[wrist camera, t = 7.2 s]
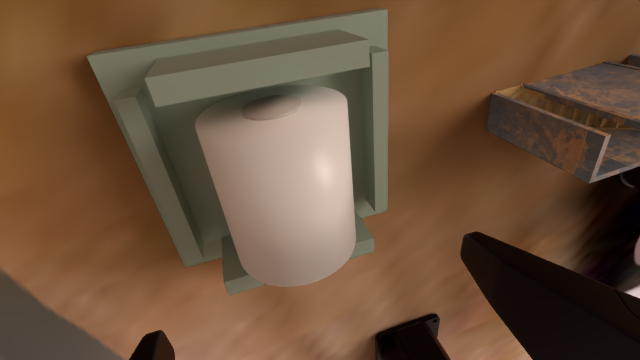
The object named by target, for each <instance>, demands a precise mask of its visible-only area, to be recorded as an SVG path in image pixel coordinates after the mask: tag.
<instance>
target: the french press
mask: <svg viewBox="0 0 640 360" xmlns="http://www.w3.org/2000/svg"><path fill="white" fill-rule="evenodd" d="M615 176H616V178H617V180H618V181H619V182H620V183H622V184H623V185H625V186H629V187H636V188H638V189H640V166H639V167H636V168H633V169H630V170H627V171H624V172H621V173H618V174H615Z"/></svg>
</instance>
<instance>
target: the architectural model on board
mask: <svg viewBox="0 0 640 360" xmlns="http://www.w3.org/2000/svg"><path fill="white" fill-rule="evenodd" d="M486 130H487V131H489V132H491V133H493V134H495V135H496V136H498V137H500V138H502V139H504V140H506V141H508V142H510V143H512V144H514V145H516V146H518V147H520V148H521V149H523V150H525V151H527V152H529V153H531V154H533V155H535V156H537V157H539V158H541V159H543V160H545V161H546V162H548V163H550V164H552V165H554V166H556V167H558V168H560V169H562V170H564V171H566V172H568V173H570V174H571V175H573V176H575V177H577V178H579V179H581V180H583V181H585V182H587V183H592V182H595V181H598V180H601V179H604V178H607V177H610V176H613V175H615V174H618V173H621V172H624V171H627V170H630V169H633V168H636V167H639V166H640V55H637V54H631V55H630V56H629V59H628V62H627V65H625V64H619V63H614V62H609V61H606V62H604V63H602V64H598V65H594V66H591V67H587V68H584V69H580V70H576V71H573V72H569V73H565V74H562V75H558V76H555V77H551V78H547V79H544V80H540V81H536V82H533V83H529V84H522V83H521V85H519V86H515V87H512V88H508V89H504V90H501V91H497V89H496V91H495V92H493V93H491V99H490V107H489V114H488V122H487V129H486Z"/></svg>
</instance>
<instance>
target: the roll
mask: <svg viewBox="0 0 640 360" xmlns="http://www.w3.org/2000/svg"><path fill="white" fill-rule="evenodd" d="M195 129H196V132H197V135H198V138H199V141H200V144H201V147H202V150H203V153H204V156H205V159H206V162H207V165H208V168H209V171H210V174H211V177H212V180H213V183H214V186H215V189H216V192H217V195H218V198H219V201H220V204H221V207H222V210H223V212H224V215H225V218H226V221H227V224H228V227H229V230H230V233H231V236H232V239H233V242H234V245H235V248H236V251H237V254H238V257H239V260H240V263H241V265H242V267H243V268H244V270H245V271H246V272H247V273H248V274H249V275H250V276H251V277H253V278H254V279H256V280H258V281H260V282H262V283H265V284H268V285H273V286H279V287H296V286H302V285H307V284H311V283H314V282H317V281H320V280H322V279H324V278H326V277H328V276H330V275H331V274H333V273H334V272H336V271H337V270H338V269H340V268H341V267H342V266H343V265H344V264H345V263H346V262H347V261H348V259H349V258H350V256H351V255H352V253H353V251H354V248H355V244H356V228H355V213H354V197H353V182H352V167H351V151H350V136H349V120H348V105H347V99H346V97H345V96H344V95H343V94H342V93H340V92H339V91H336V90H334V89H331V88H327V87H322V86H313V85H288V86H277V87H270V88H264V89H259V90H254V91H250V92H246V93H242V94H239V95H236V96H233V97H230V98H227V99H225V100H223V101H220V102H218V103H216V104H214V105H212V106H211V107H209V108H208V109H206V110H205V111H204V112H202V113H201V114H200V115H199V116H198V118H197V119H196V121H195Z"/></svg>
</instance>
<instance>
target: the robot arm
mask: <svg viewBox="0 0 640 360" xmlns="http://www.w3.org/2000/svg"><path fill="white" fill-rule="evenodd" d="M460 254H461V259H462V261H463V263H464V264H465V266H466V267H467V269H468V270H469V272H470V274H471V275H472V277H473V278H474V280H475V282H476V283H477V285H478V286H479V288H480V290H481V291H482V293H483V294H484V296H485V297H486V299H487V300H488V302H489V303H490V305H491V306H492V307H493V309H494V310H495V311H496V313H497V314H498V315H499V317H500V318H501V319H502V321H503V322H504V323H505V324H506V326H507V327H508V328H509V330H510V331H511V332H512V333H513V335H514V336H515V337H516V339H517V340H518V341H519V343H520V344H521V345H522V346H523V348H524V349H525V350H526V352H527V353H528V354H529V355H530V357H531V358H532V359H533V360H640V299H639V298H637V297H634V296H632V295H629V294H627V293H625V292H622V291H620V290H617V289H613V288H612V287H610V286H608V285H605V284H603V283H600V282H598V281H596V280H593V279H591V278H588V277H586V276H584V275H581V274H579V273H576V272H574V271H572V270H569V269H567V268H564V267H562V266H560V265H557V264H555V263H552V262H550V261H548V260H545V259H543V258H540V257H538V256H535V255H533V254H531V253H528V252H526V251H523V250H521V249H519V248H516V247H514V246H511V245H509V244H507V243H504V242H502V241H499V240H497V239H495V238H492V237H490V236H487V235H485V234H483V233H480V232H472V233H469V234H466V235H464V237H463V241H462V247H461V253H460ZM439 321H440V318H439V317H438V315H437V314H432V315H430V316H427V317H424V318H421V319H418V320H415V321H413V322H410V323H407V324H404V325H401V326H399V327H396V328H393V329H390V330H387V331H385V332H382V333H379V334H378V335H376V337H375V349H376V360H451V359H450V358H449V356H448V354H447V353H446V351H445V350H444V348H443V347H442V345H441V344H440V342H439V341H438V339H437V335H438V328H439ZM129 360H175V354H174V349H173V347H172V345H171V343H170V342H169V340H168V338H167V337H166V335H165V333H164V332H163V331H162V330H158V331H155V332H152V333H148V334H146V335H145V336H144V337H143V338H142V339H141V341H140V343H139V344H138V346H137V348H136V349H135V351H134V352H133V354H132V356H131V357H130V359H129Z"/></svg>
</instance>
